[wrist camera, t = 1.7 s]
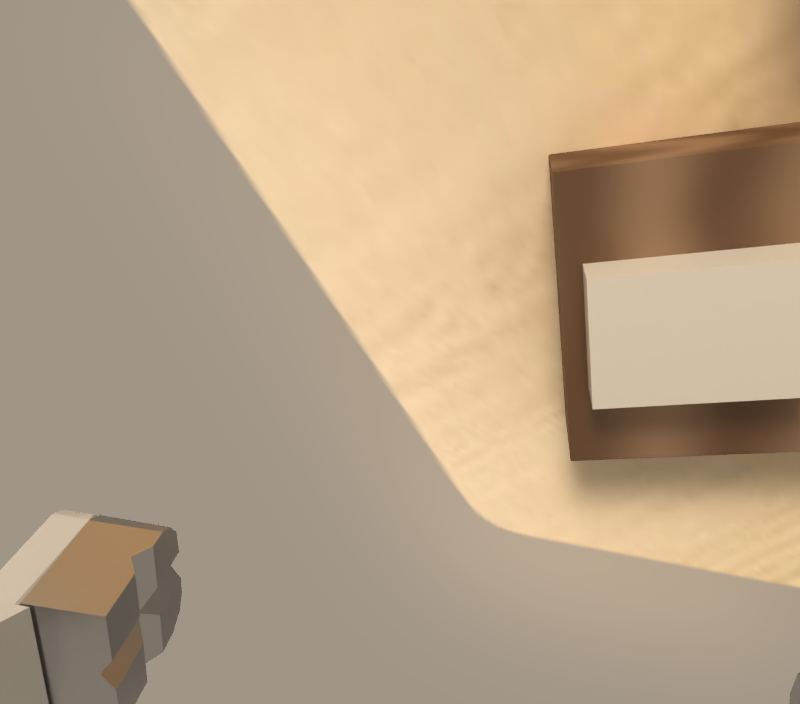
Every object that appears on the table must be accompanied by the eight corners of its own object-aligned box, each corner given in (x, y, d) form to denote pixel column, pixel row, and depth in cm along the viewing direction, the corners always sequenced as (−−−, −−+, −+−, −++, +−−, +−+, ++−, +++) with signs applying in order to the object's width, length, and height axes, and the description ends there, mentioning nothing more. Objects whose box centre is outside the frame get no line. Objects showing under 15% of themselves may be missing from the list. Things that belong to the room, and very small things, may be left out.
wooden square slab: (920, 106, 28) (977, 119, 25) (876, 401, 34) (917, 446, 31) (548, 154, 32) (552, 172, 28) (565, 418, 37) (570, 460, 34)
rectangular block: (814, 241, 28) (835, 256, 26) (802, 374, 30) (819, 396, 28) (582, 263, 29) (586, 279, 28) (588, 387, 32) (592, 409, 30)
